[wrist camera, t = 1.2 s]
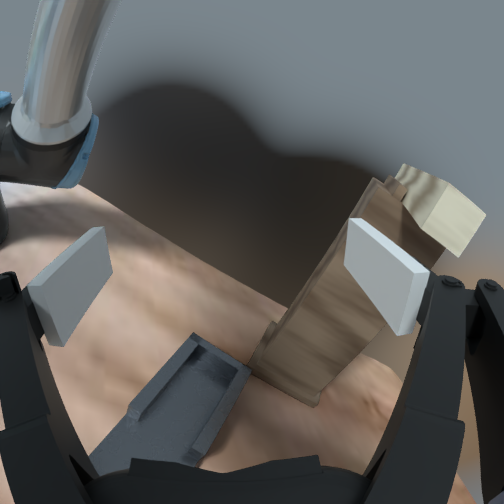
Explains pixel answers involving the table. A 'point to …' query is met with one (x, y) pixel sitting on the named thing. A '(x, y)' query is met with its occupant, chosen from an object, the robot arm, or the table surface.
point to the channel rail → (176, 410)
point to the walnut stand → (337, 304)
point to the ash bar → (439, 208)
